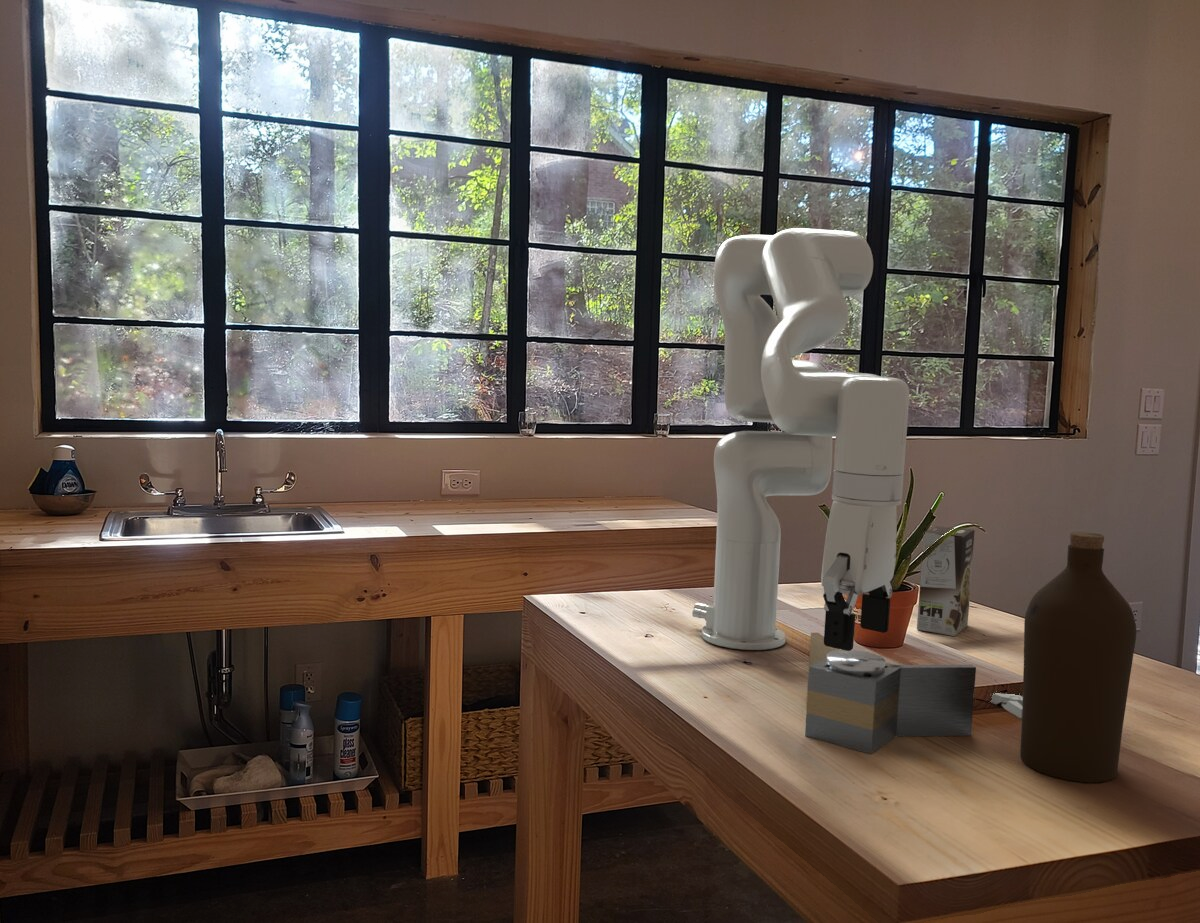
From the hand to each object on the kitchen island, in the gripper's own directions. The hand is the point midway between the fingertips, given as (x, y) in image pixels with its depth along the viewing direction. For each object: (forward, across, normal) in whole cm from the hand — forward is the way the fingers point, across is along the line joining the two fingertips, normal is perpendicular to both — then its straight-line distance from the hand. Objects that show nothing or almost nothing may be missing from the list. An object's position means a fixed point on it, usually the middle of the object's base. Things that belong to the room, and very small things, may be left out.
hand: (856, 638), depth 112 cm
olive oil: (+11, -8, +21) cm, 25 cm away
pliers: (+12, -25, +9) cm, 29 cm away
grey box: (+11, -3, 0) cm, 11 cm away
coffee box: (+12, -56, -9) cm, 58 cm away
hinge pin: (+11, +1, 0) cm, 11 cm away
